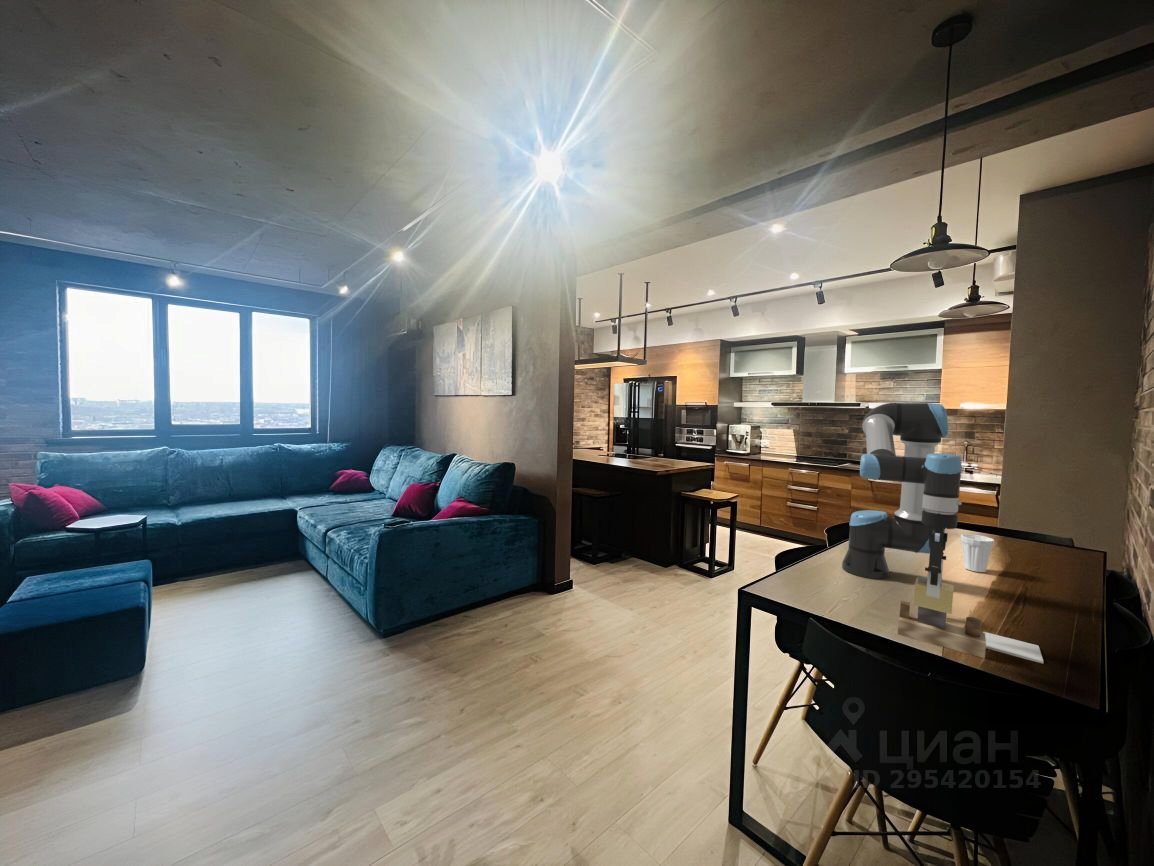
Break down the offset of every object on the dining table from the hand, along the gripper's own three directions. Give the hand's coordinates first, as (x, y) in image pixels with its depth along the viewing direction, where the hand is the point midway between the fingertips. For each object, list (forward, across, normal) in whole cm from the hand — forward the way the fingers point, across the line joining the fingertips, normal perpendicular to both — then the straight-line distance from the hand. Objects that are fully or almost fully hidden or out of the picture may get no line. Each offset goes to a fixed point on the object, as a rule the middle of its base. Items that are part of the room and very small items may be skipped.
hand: (934, 589), depth 123 cm
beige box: (+5, 0, 0) cm, 5 cm away
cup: (+13, +80, -10) cm, 82 cm away
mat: (+14, +9, -16) cm, 23 cm away
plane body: (+14, 0, -2) cm, 14 cm away
